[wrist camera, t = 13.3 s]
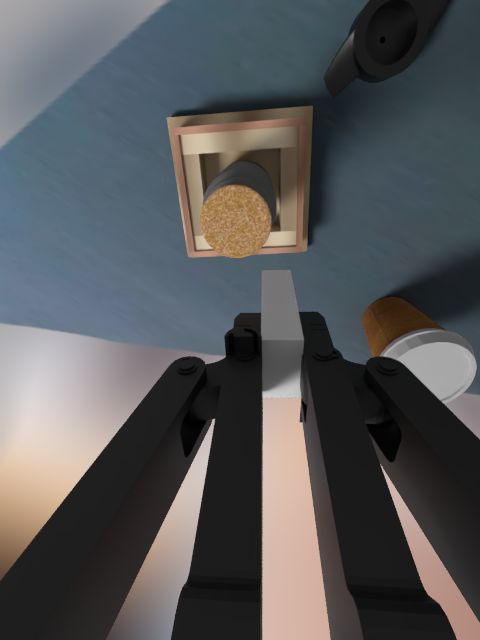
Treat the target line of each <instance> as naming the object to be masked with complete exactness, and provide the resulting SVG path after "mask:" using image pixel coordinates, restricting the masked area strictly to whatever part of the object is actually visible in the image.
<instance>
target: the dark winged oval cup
mask: <svg viewBox="0 0 480 640" xmlns="http://www.w3.org/2000/svg"><path fill="white" fill-rule="evenodd" d="M449 2H450V0H370V1H369V2H368V3H367V4H366V6H365V7H364V8H363V9H362V11H361V12H360V13H359V14H358V16H357V17H356V19H355V20H354V22H353V24H352V26H351V29H350V32H349V35H348V37H347V38H346V40H345V41H344V43H343V44H342V46H341V48H340V49H339V51H338V52H337V54H336V56H335V58H334V59H333V61H332V63H331V65H330V67H329V68H328V70H327V72H326V74H325V76H324V80H325V83H326V85H327V88H328V90H329V92H330V93H331V95H332V96H333V97H334V96H335V95H336V94H337V93H338V92H339V91H341V90H342V89H343V88H344V87H345V86H346V85H347V84H348V83H350V82H351V81H352V80H354V79H355V78H356V77H358V78H359V79H361V80H363V81H365V82H370V83H376V82H381V81H384V80H386V79H388V78H390V77H393V76H395V75H397V74H399V73H401V72H402V71H404V70H405V69H406V68H407V67H409V66H410V65H411V64H412V63H413V61H414V60H415V59H416V58H417V56H418V55H419V53H420V51H421V49H422V47H423V45H424V43H425V40H426V38H427V37H428V36H429V34H430V33H431V32H432V30H433V29H434V27H435V26H436V24H437V22H438V21H439V19H440V18H441V16H442V14H443V12H444V11H445V9H446V7H447V6H448V4H449ZM380 39H382V40H383V43H382V44H381V43H380Z"/></svg>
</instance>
